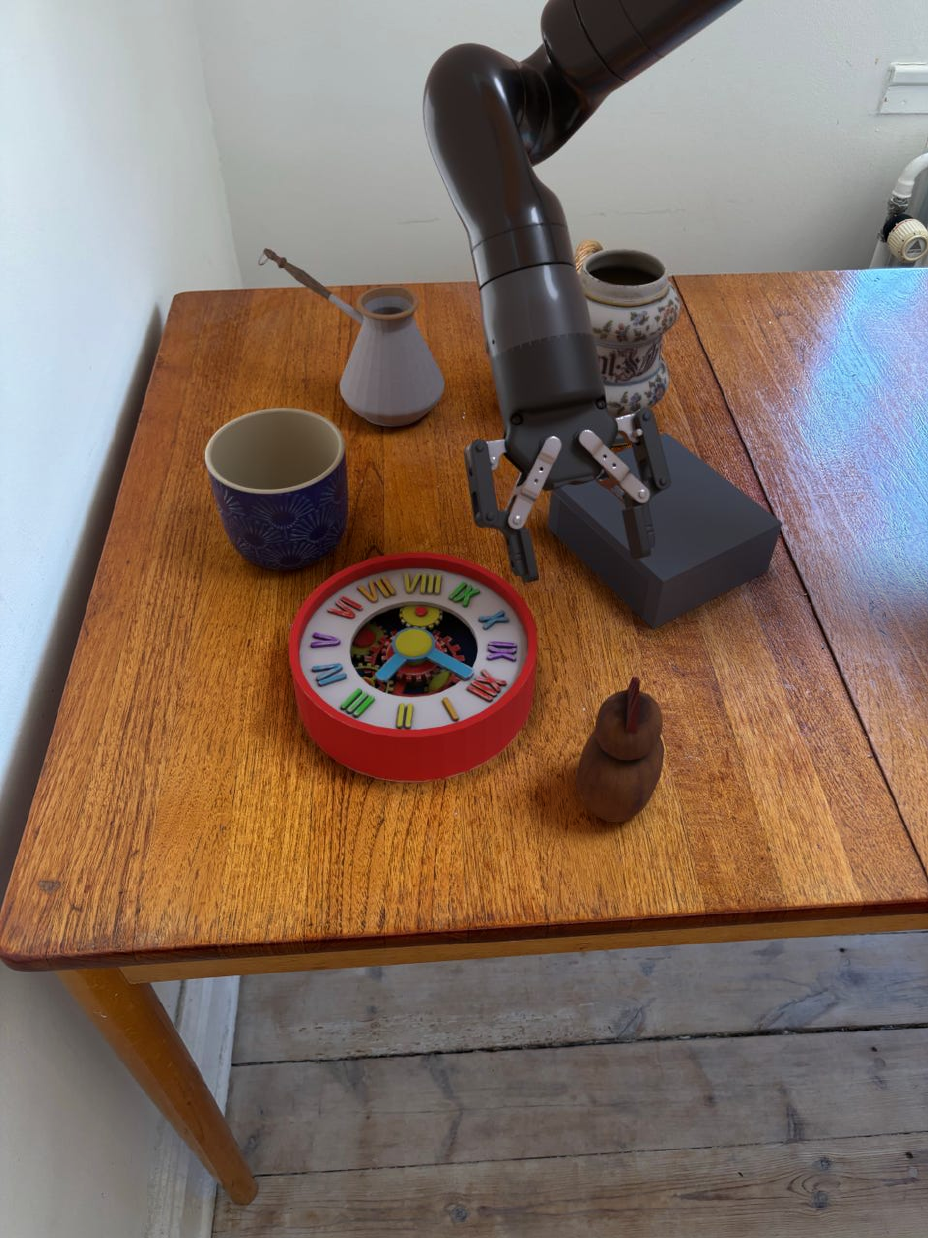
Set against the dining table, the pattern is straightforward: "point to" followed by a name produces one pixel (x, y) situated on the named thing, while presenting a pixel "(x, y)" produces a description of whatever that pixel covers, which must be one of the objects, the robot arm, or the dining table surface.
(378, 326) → the coffee pot
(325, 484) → the planter
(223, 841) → the dining table surface
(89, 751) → the dining table surface
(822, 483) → the dining table surface
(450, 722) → the toy clock
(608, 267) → the apothecary jar
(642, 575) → the grey display pedestal
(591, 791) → the wooden figurine
